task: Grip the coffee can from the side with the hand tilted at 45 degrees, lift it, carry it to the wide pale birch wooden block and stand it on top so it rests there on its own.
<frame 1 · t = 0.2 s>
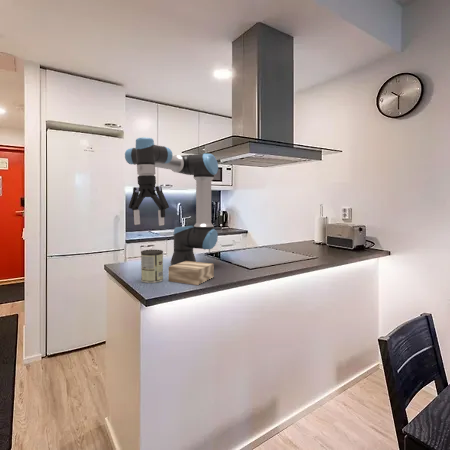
hand: (149, 225, 133), 27 cm above the counter, tool pointing down, fingers open, 13 cm apart
coffee can: (152, 280, 147), on the counter
birch block: (191, 279, 150), on the counter
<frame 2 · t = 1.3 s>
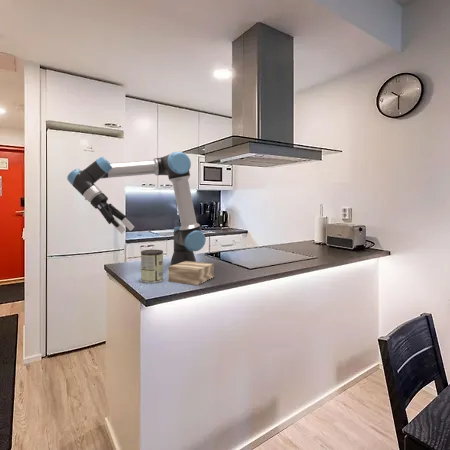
hand: (128, 230, 145), 24 cm above the counter, tool tilted 45°, fingers open, 13 cm apart
nothing on the counter moved.
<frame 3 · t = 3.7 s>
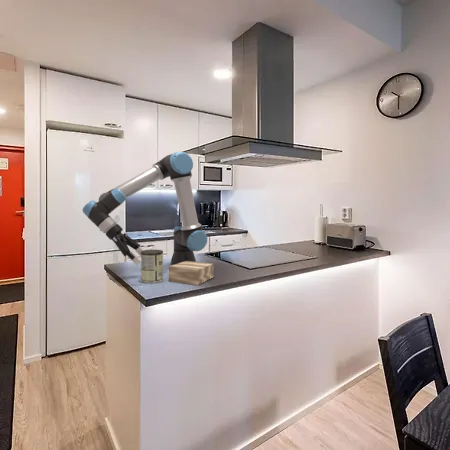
hand: (143, 260, 146), 10 cm above the counter, tool tilted 45°, fingers open, 13 cm apart
nothing on the counter moved.
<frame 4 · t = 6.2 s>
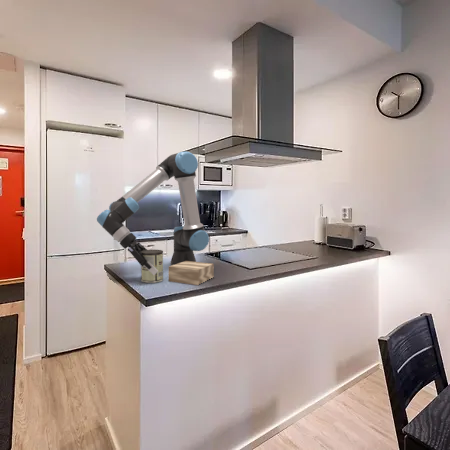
hand: (158, 270, 147), 5 cm above the counter, tool tilted 45°, fingers closed on coffee can, 10 cm apart
coffee can: (152, 280, 147), on the counter, touching gripper
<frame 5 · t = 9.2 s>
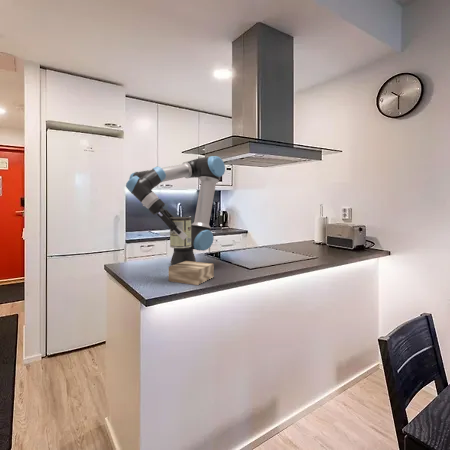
hand: (187, 236, 147), 21 cm above the counter, tool tilted 45°, fingers closed on coffee can, 10 cm apart
coffee can: (180, 247, 147), point 16 cm above the counter, touching gripper
when the fingers open (13 cm above the counter, at t = 12.5 s): coffee can stays where it is, resting on birch block.
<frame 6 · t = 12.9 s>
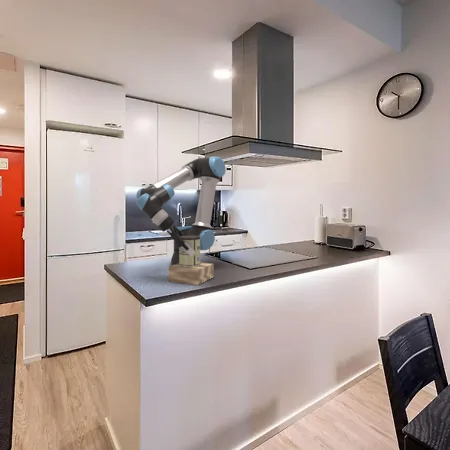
hand: (194, 252, 149), 13 cm above the counter, tool tilted 45°, fingers open, 13 cm apart
coffee can: (189, 265, 149), point 7 cm above the counter, touching birch block
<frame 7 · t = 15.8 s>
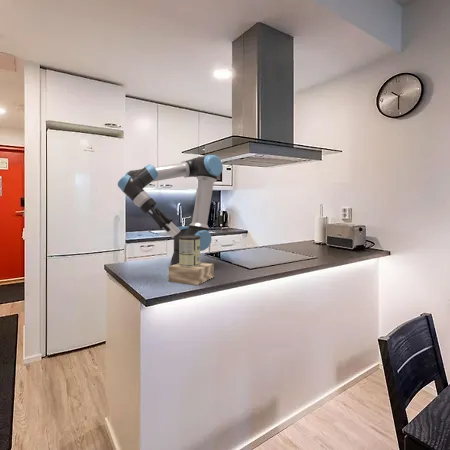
hand: (176, 234, 148), 22 cm above the counter, tool tilted 45°, fingers open, 13 cm apart
nothing on the counter moved.
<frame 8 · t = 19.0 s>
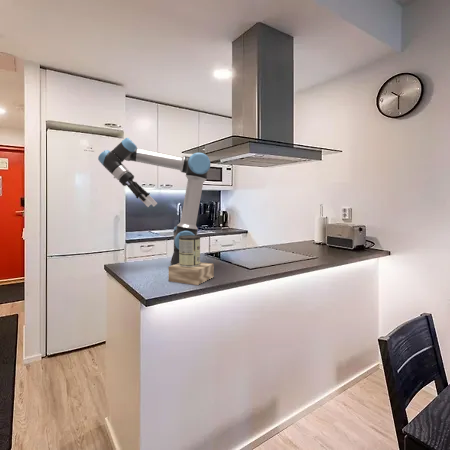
hand: (153, 205, 161), 36 cm above the counter, tool tilted 45°, fingers open, 13 cm apart
nothing on the counter moved.
at the end: coffee can inside the target area on the birch block (1.0 cm from its centre), point 6.8 cm above the birch block's base; coffee can tilted 0°; the gripper is holding nothing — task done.
